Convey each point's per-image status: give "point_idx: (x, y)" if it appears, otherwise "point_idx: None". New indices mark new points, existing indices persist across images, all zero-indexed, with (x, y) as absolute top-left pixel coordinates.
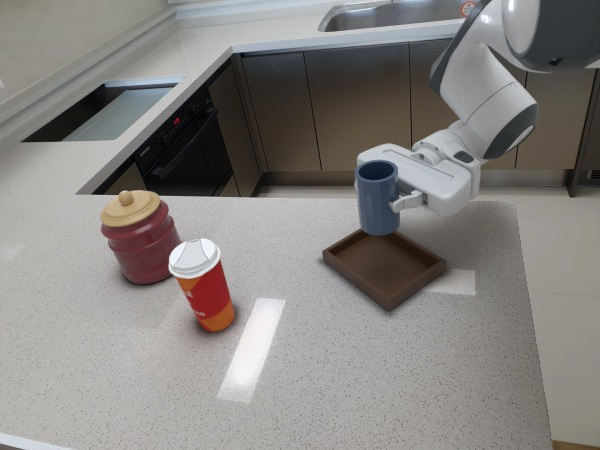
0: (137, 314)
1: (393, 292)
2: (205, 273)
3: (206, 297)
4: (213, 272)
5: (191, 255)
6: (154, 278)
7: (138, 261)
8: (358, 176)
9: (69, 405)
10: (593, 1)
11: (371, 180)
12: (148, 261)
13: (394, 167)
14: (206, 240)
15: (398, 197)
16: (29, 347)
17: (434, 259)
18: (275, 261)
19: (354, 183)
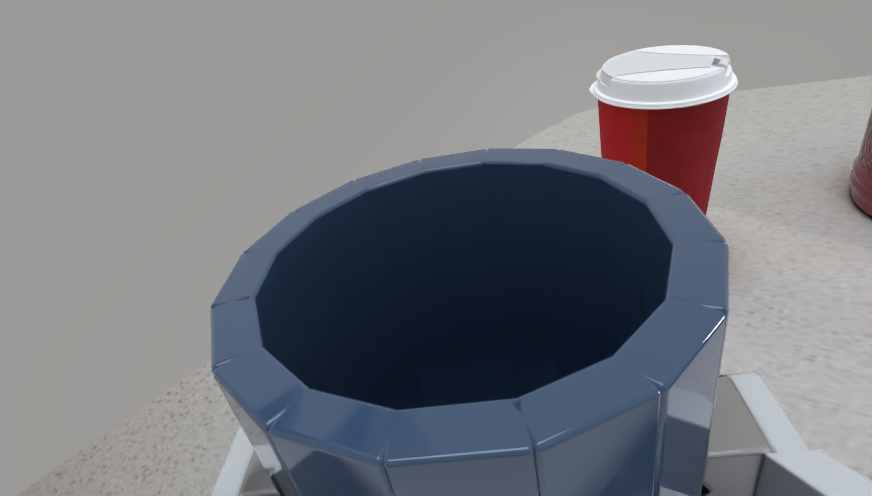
0: (744, 179)
1: None
2: (599, 100)
3: None
4: (607, 118)
5: (651, 61)
6: (852, 185)
7: (868, 121)
8: (499, 155)
9: (583, 137)
10: None
11: (364, 185)
12: (870, 137)
13: (307, 393)
14: (702, 72)
15: (264, 488)
16: (731, 103)
17: None
18: (858, 427)
19: (750, 372)
